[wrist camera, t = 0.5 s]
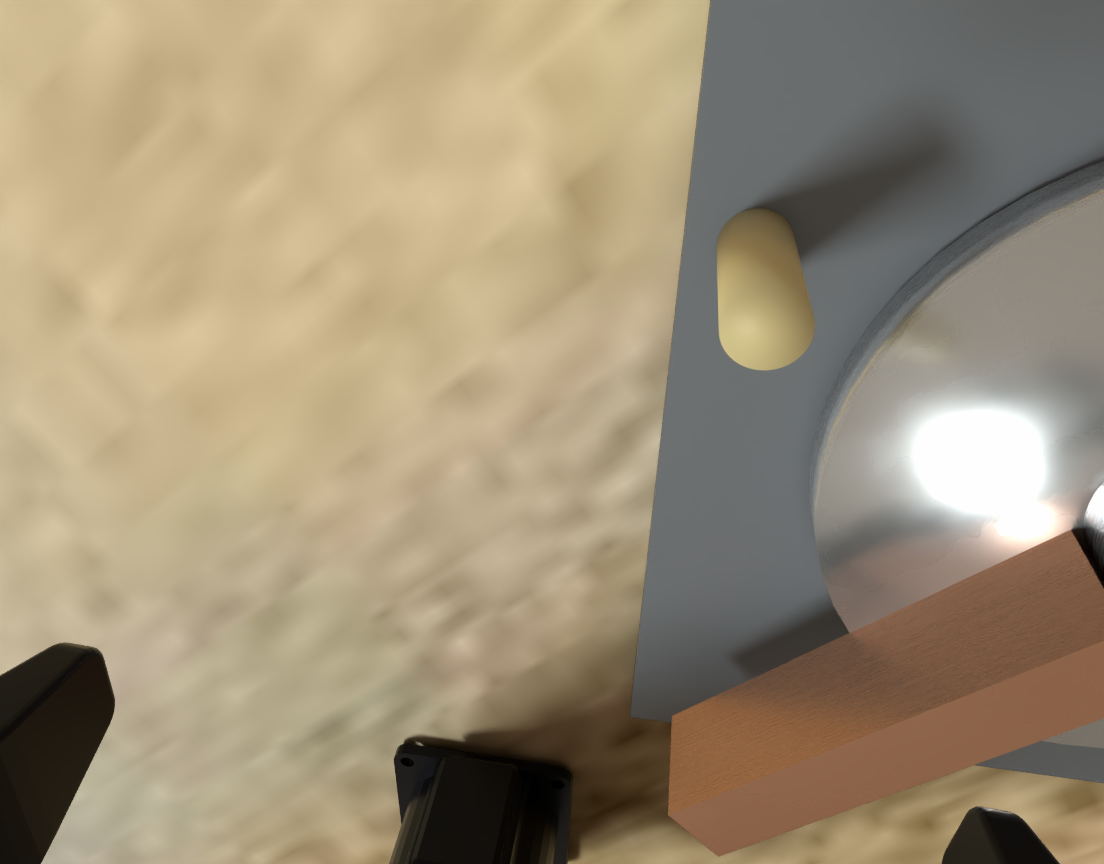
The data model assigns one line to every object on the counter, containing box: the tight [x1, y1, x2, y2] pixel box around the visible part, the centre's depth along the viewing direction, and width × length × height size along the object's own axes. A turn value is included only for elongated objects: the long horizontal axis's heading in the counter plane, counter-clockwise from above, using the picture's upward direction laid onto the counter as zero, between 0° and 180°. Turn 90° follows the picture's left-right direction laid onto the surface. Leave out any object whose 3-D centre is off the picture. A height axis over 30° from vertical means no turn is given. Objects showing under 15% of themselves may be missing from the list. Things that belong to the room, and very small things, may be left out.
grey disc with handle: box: [668, 162, 1104, 857], centre depth 19 cm, size 20×15×5 cm
